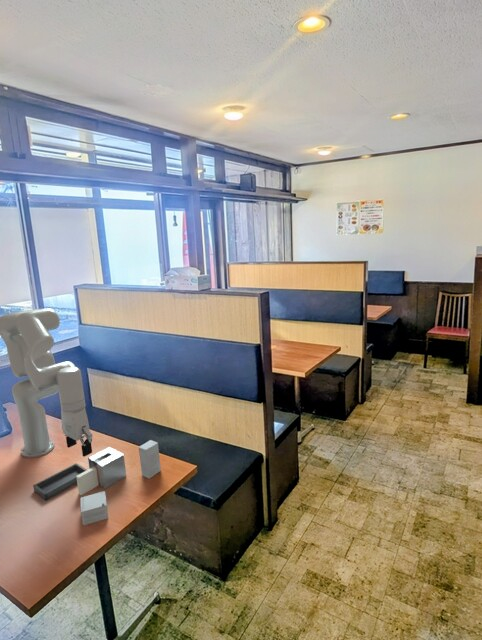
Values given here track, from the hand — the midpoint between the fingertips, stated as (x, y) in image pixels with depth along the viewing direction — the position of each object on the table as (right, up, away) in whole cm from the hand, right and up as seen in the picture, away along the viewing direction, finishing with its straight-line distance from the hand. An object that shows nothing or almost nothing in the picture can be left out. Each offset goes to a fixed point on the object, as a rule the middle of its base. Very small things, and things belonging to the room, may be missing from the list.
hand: (79, 450), depth 134 cm
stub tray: (-10, -15, +9) cm, 20 cm away
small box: (+8, -19, -7) cm, 22 cm away
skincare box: (+22, -13, +13) cm, 28 cm away
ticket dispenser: (+6, -14, +11) cm, 19 cm away
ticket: (+3, -15, +7) cm, 17 cm away
